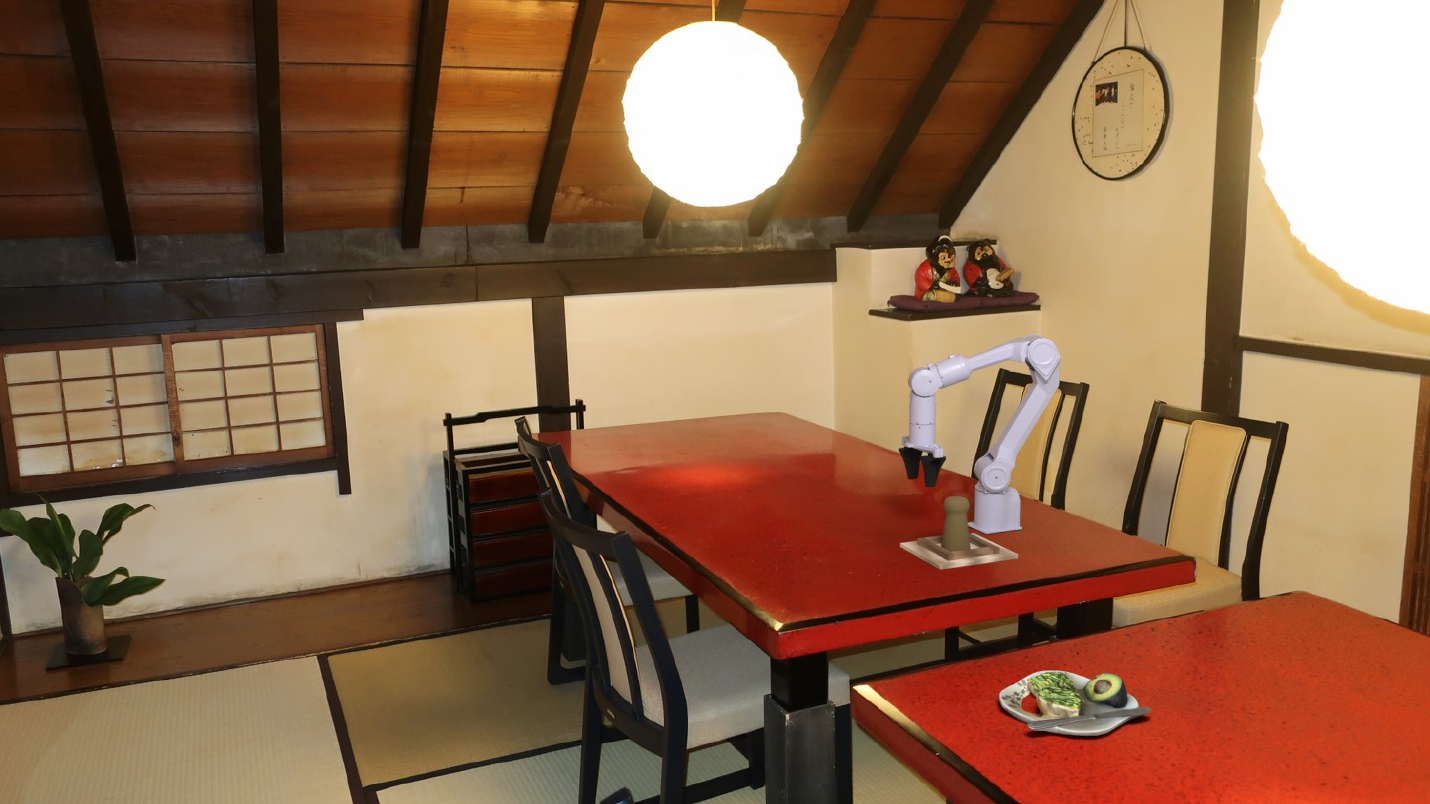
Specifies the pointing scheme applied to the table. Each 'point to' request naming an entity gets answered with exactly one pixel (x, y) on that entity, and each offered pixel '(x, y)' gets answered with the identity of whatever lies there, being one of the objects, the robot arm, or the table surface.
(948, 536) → the olive tapered peg
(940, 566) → the socket board
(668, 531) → the table surface
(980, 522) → the robot arm
